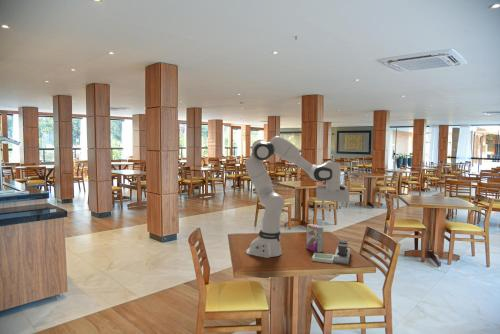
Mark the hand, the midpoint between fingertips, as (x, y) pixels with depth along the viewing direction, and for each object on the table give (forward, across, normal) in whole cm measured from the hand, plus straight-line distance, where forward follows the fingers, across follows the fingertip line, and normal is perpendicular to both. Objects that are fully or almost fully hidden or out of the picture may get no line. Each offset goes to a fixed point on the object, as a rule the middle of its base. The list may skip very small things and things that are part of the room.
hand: (332, 208), depth 214 cm
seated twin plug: (+28, +8, -3) cm, 29 cm away
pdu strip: (+29, +7, -7) cm, 31 cm away
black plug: (+28, +8, -11) cm, 31 cm away
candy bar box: (+29, -11, +3) cm, 31 cm away
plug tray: (+29, -3, -14) cm, 32 cm away
